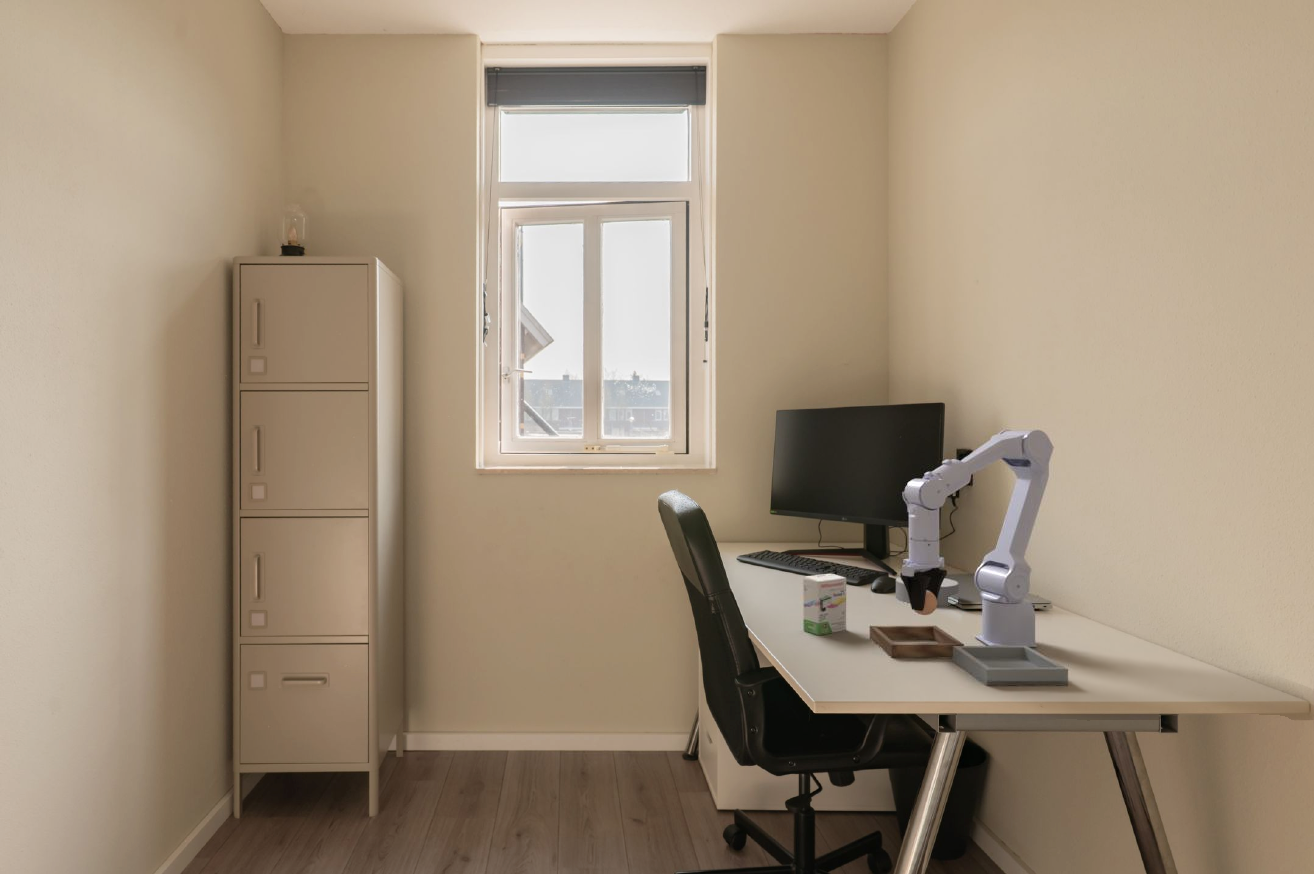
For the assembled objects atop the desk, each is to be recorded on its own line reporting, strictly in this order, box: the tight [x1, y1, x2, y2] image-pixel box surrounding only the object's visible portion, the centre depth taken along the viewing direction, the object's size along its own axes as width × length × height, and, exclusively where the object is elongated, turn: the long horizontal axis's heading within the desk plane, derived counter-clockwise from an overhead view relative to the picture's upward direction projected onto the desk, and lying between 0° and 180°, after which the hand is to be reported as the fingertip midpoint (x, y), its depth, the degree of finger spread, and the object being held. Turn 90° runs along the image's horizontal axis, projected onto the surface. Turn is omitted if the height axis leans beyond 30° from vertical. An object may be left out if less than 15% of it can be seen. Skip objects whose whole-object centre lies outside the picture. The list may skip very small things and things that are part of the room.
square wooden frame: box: [869, 625, 965, 658], centre depth 151 cm, size 14×14×2 cm
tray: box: [952, 645, 1069, 687], centre depth 135 cm, size 14×14×3 cm
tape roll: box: [895, 577, 960, 607], centre depth 194 cm, size 15×15×5 cm
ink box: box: [802, 573, 847, 636], centre depth 163 cm, size 8×5×12 cm, turn 121°
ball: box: [913, 590, 938, 616], centre depth 149 cm, size 5×5×5 cm
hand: (923, 607), depth 149 cm, fingers closed on ball, 5 cm apart
